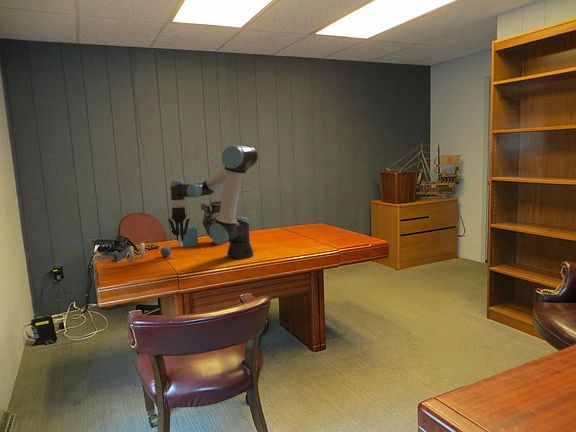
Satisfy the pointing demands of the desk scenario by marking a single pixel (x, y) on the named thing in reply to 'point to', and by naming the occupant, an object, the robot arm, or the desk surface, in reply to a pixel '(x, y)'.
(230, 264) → the desk surface
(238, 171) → the robot arm
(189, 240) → the data package
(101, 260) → the desk surface
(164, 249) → the ball
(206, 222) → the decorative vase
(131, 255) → the sage pin
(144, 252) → the ivory pin
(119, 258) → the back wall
